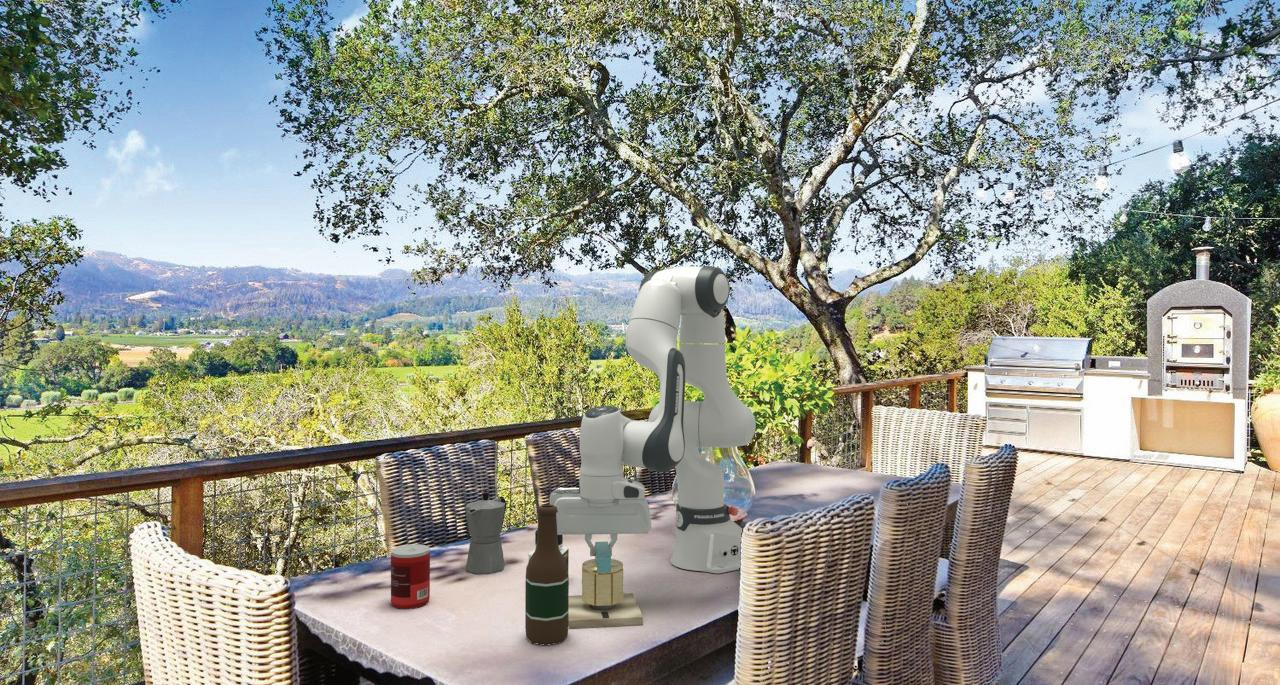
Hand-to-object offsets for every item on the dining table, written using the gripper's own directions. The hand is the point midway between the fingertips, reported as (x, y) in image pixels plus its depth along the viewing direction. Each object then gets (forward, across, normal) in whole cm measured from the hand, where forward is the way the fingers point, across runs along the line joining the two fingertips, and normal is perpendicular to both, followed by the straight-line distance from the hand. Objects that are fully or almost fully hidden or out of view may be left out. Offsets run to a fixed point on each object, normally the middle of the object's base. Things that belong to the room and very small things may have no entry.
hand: (601, 555), depth 160 cm
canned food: (+11, -39, +4) cm, 40 cm away
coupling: (+7, 0, -4) cm, 8 cm away
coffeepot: (+11, -26, +28) cm, 40 cm away
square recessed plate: (+10, 0, -4) cm, 11 cm away
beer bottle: (+11, -10, -16) cm, 22 cm away
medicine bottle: (+11, -11, +16) cm, 22 cm away
